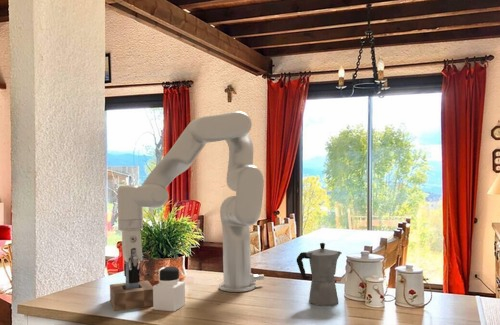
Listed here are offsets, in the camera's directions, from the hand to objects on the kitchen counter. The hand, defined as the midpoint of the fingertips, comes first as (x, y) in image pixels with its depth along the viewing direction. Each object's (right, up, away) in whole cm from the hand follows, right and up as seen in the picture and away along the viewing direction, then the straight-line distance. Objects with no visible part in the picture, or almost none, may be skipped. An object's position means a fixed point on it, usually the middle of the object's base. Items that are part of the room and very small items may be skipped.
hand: (131, 279), depth 150 cm
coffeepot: (+59, -6, -3) cm, 59 cm away
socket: (0, -7, 0) cm, 7 cm away
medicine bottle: (+13, -7, -6) cm, 16 cm away
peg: (0, -7, 0) cm, 7 cm away
